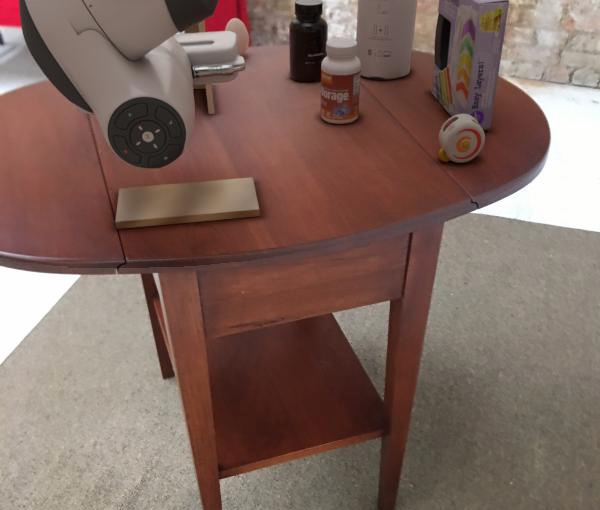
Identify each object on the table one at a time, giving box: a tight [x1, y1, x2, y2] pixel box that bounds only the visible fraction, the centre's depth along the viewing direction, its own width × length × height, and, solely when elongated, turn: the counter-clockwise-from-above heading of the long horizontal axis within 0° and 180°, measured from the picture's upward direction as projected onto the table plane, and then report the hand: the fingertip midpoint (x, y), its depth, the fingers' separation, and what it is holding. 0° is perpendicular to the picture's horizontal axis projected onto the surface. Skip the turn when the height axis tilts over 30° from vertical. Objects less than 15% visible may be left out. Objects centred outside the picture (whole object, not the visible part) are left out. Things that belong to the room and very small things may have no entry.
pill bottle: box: [320, 37, 362, 125], centre depth 99 cm, size 6×6×11 cm
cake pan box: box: [430, 0, 510, 132], centre depth 98 cm, size 19×5×18 cm, turn 7°
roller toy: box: [438, 114, 486, 164], centre depth 89 cm, size 4×6×6 cm
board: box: [114, 176, 261, 230], centre depth 83 cm, size 18×9×1 cm, turn 98°
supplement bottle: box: [288, 0, 329, 83], centre depth 112 cm, size 7×7×12 cm
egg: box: [224, 17, 250, 57], centre depth 123 cm, size 5×5×7 cm
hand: (153, 39), depth 78 cm, fingers closed on ink box, 5 cm apart
